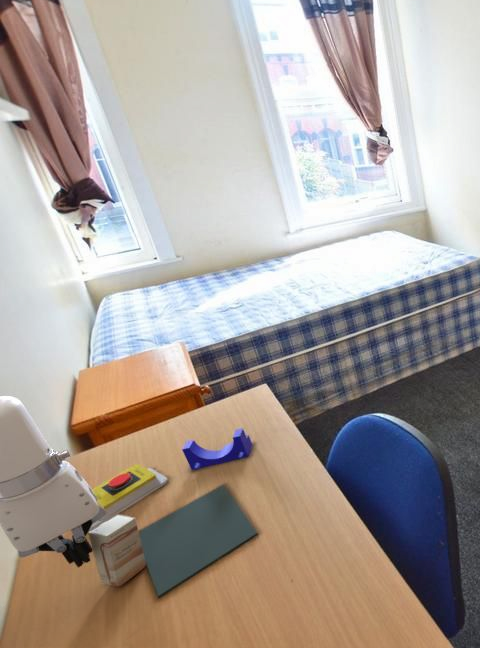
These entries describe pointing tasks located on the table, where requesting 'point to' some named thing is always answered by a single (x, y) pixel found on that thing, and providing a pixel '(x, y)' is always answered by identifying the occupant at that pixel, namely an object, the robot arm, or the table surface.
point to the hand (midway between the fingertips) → (83, 559)
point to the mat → (193, 538)
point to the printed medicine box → (117, 549)
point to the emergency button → (126, 490)
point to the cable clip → (230, 452)
